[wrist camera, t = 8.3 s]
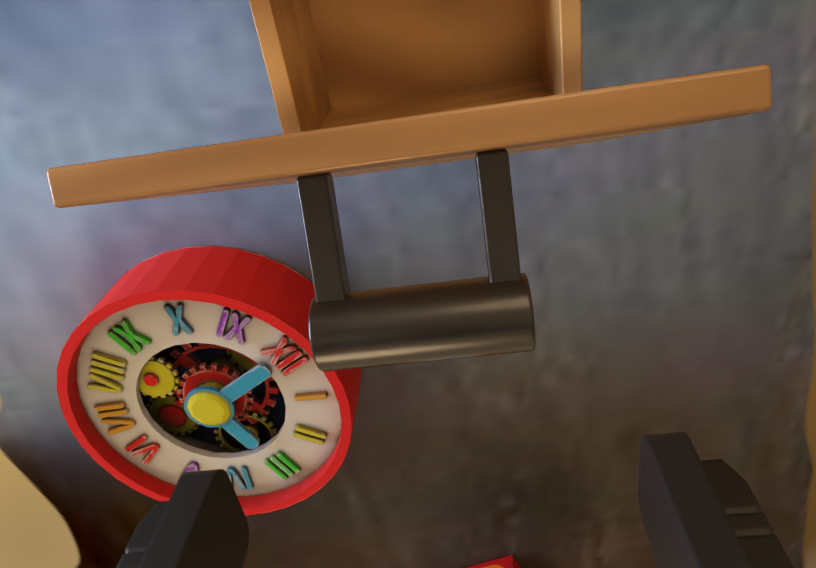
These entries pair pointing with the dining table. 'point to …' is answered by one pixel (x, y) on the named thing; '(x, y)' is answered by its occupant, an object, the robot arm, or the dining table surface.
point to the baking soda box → (499, 563)
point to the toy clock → (208, 379)
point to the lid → (408, 147)
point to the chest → (413, 56)
